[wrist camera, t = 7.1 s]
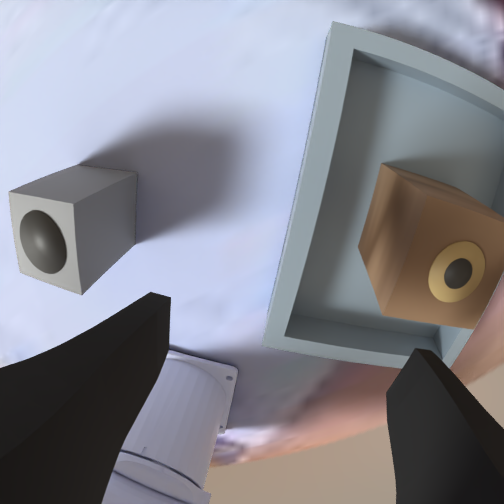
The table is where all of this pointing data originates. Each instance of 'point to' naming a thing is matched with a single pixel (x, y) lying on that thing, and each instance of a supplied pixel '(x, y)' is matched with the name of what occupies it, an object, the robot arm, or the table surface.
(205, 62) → the table surface
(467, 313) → the walnut block
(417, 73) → the tray
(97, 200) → the grey button block
